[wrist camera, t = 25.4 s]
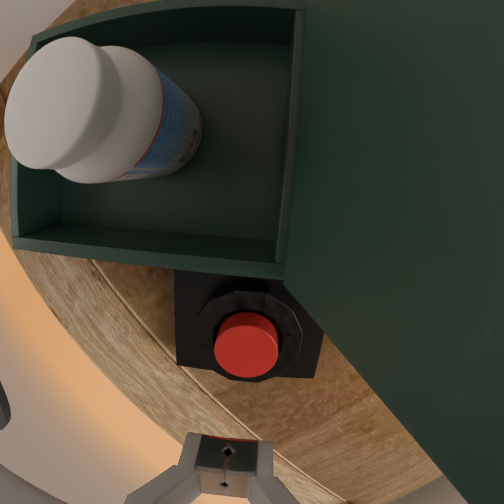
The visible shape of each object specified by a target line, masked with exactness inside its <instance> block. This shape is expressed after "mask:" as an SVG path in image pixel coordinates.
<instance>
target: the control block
mask: <svg viewBox="0 0 504 504" xmlns="http://www.w3.org/2000/svg"><path fill="white" fill-rule="evenodd" d="M283 281H284V280H278V279H267V278H256V277H246V276H235V275H225V274H215V273H206V272H196V271H187V270H178V269H174V305H175V339H176V360H177V365H180V366H186V367H192V368H199V369H206V370H213V371H215V372H217V373H219V374H220V375H222V376H224V377H226V378H227V379H229V380H235V381H244V382H255V383H256V382H257V383H258V382H261V381H264V380H267V379H270V378H273V377H290V378H314V375H315V371H316V367H317V363H318V359H319V354H320V350H321V345H322V341H323V336H324V331H323V330H322V329H321V328H320V327H319V326H318V324H317V323H316V322H315V321H314V320H313V318H312V317H311V316H310V315H309V314H308V313H307V311H306V310H305V309H304V308H303V307H302V306H301V304H300V303H299V302H298V301H297V300H296V298H295V297H294V296H293V295H292V294H291V293H290V291H289V290H288V289H287V288H286V287H285V286H284V284H283ZM242 312H252V313H257V314H259V315H262V316H264V317H265V318H267V319H268V320H269V321H270V322H271V323H272V324H273V325H274V327H275V329H276V331H277V337H278V358H277V361H276V363H275V364H274V366H273V367H272V368H271V369H270V370H269V371H267V372H266V373H264V374H262V375H259V376H256V377H239V376H236V375H233V374H231V373H229V372H227V371H226V370H224V369H223V368H222V367H221V366H220V364H219V363H218V361H217V359H216V357H215V353H214V346H215V342H216V339H217V336H218V332H219V329H220V327H221V325H222V323H223V322H224V321H225V320H226V319H227V318H229V317H230V316H232V315H234V314H237V313H242Z"/></svg>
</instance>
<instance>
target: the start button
mask: <svg viewBox="0 0 504 504" xmlns="http://www.w3.org/2000/svg"><path fill="white" fill-rule="evenodd" d="M214 353H215V357H216V359H217V361H218V363H219V364H220V366H221V367H222V368H223V369H224V370H226V371H227V372H229V373H231V374H233V375H236V376H239V377H256V376H259V375H262V374H264V373H266V372H267V371H269V370H270V369H271V368H272V367H273V366H274V364H275V363H276V361H277V358H278V337H277V331H276V329H275V327H274V325H273V324H272V323H271V322H270V321H269V320H268V319H267V318H265V317H264V316H262V315H259V314H257V313H252V312H242V313H237V314H234V315H232V316H230V317H229V318H227V319H226V320H225V321H224V322H223V323H222V325H221V327H220V329H219V332H218V336H217V339H216V342H215V346H214Z"/></svg>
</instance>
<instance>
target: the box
mask: <svg viewBox="0 0 504 504" xmlns="http://www.w3.org/2000/svg"><path fill="white" fill-rule="evenodd" d="M305 16H306V0H161V1H154V2H148V3H142V4H136V5H131V6H126V7H122V8H117V9H113V10H109V11H105V12H101V13H97V14H93V15H90V16H87V17H83V18H80V19H77V20H74V21H71V22H68V23H65V24H62V25H59V26H56V27H53V28H51V29H48V30H46V31H43V32H41V33H39V34H36V35H33V37H32V40H31V44H30V47H29V51H28V55H27V58H26V62H25V64H26V63H27V62H28V60H29V59H30V58H31V57H32V56H33V55H34V54H35V53H36V52H37V51H39V50H40V49H41V48H43V47H44V46H45V45H47V44H49V43H50V42H53V41H55V40H57V39H60V38H64V37H78V38H82V39H84V40H86V41H88V42H90V43H92V44H93V45H96V46H98V47H103V46H120V47H124V48H128V49H130V50H133V51H135V52H136V53H138V54H140V55H141V56H143V57H144V58H145V59H147V60H148V61H149V62H150V63H151V64H153V65H154V66H155V67H156V68H157V69H158V70H160V71H161V72H162V73H163V74H164V75H165V76H167V77H168V78H169V79H170V80H171V81H172V82H173V83H175V84H176V85H177V86H178V87H179V88H180V89H181V90H182V91H184V92H185V93H186V94H187V95H188V96H189V97H190V98H191V99H192V101H193V102H194V103H195V105H196V106H197V108H198V110H199V112H200V116H201V120H202V135H201V140H200V143H199V146H198V148H197V150H196V152H195V154H194V155H193V157H192V158H191V159H190V160H189V161H188V163H187V164H186V165H184V166H183V167H182V168H181V169H179V170H178V171H176V172H174V173H172V174H169V175H167V176H163V177H157V178H146V179H133V180H123V181H112V182H104V183H78V182H74V181H71V180H69V179H67V178H65V177H63V176H62V175H60V174H59V173H58V172H56V171H55V170H52V169H33V168H29V167H26V166H24V165H22V164H21V163H20V162H18V161H17V160H16V159H15V157H14V156H13V155H12V154H11V178H10V200H11V224H12V236H13V237H12V239H13V248H15V249H22V250H29V251H35V252H42V253H49V254H57V255H64V256H71V257H79V258H86V259H94V260H102V261H110V262H118V263H126V264H134V265H142V266H151V267H160V268H169V269H178V270H187V271H196V272H206V273H215V274H225V275H235V276H246V277H256V278H267V279H278V280H284V273H285V264H286V256H287V247H288V238H289V229H290V220H291V210H292V200H293V190H294V180H295V169H296V158H297V146H298V134H299V121H300V107H301V93H302V77H303V59H304V40H305Z"/></svg>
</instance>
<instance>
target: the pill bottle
mask: <svg viewBox="0 0 504 504" xmlns="http://www.w3.org/2000/svg"><path fill="white" fill-rule="evenodd" d="M4 124H5V136H6V141H7V144H8V147H9V149H10V151H11V153H12V155H13V156H14V157H15V159H16V160H17V161H18V162H20V163H21V164H22V165H24V166H26V167H29V168H33V169H52V170H55V171H56V172H58V173H59V174H60V175H62V176H63V177H65V178H67V179H69V180H71V181H74V182H78V183H104V182H112V181H123V180H133V179H146V178H157V177H163V176H167V175H169V174H172V173H174V172H176V171H178V170H179V169H181V168H182V167H183V166H184V165H186V164H187V163H188V161H189V160H190V159H191V158H192V157H193V155H194V154H195V152H196V150H197V148H198V146H199V143H200V140H201V135H202V120H201V116H200V112H199V110H198V108H197V106H196V105H195V103H194V102H193V101H192V99H191V98H190V97H189V96H188V95H187V94H186V93H185V92H184V91H182V90H181V89H180V88H179V87H178V86H177V85H176V84H175V83H173V82H172V81H171V80H170V79H169V78H168V77H167V76H165V75H164V74H163V73H162V72H161V71H160V70H158V69H157V68H156V67H155V66H154V65H153V64H151V63H150V62H149V61H148V60H147V59H145V58H144V57H143V56H141V55H140V54H138V53H136V52H135V51H133V50H130V49H128V48H124V47H120V46H103V47H98V46H96V45H93V44H92V43H90V42H88V41H86V40H84V39H82V38H78V37H64V38H60V39H57V40H55V41H53V42H50V43H49V44H47V45H45V46H44V47H43V48H41V49H40V50H39V51H37V52H36V53H35V54H34V55H33V56H32V57H31V58H30V59H29V60H28V62H27V63H26V64H25V65H24V67H23V68H22V70H21V71H20V73H19V74H18V76H17V78H16V80H15V82H14V84H13V86H12V89H11V91H10V94H9V97H8V100H7V105H6V110H5V120H4Z"/></svg>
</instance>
